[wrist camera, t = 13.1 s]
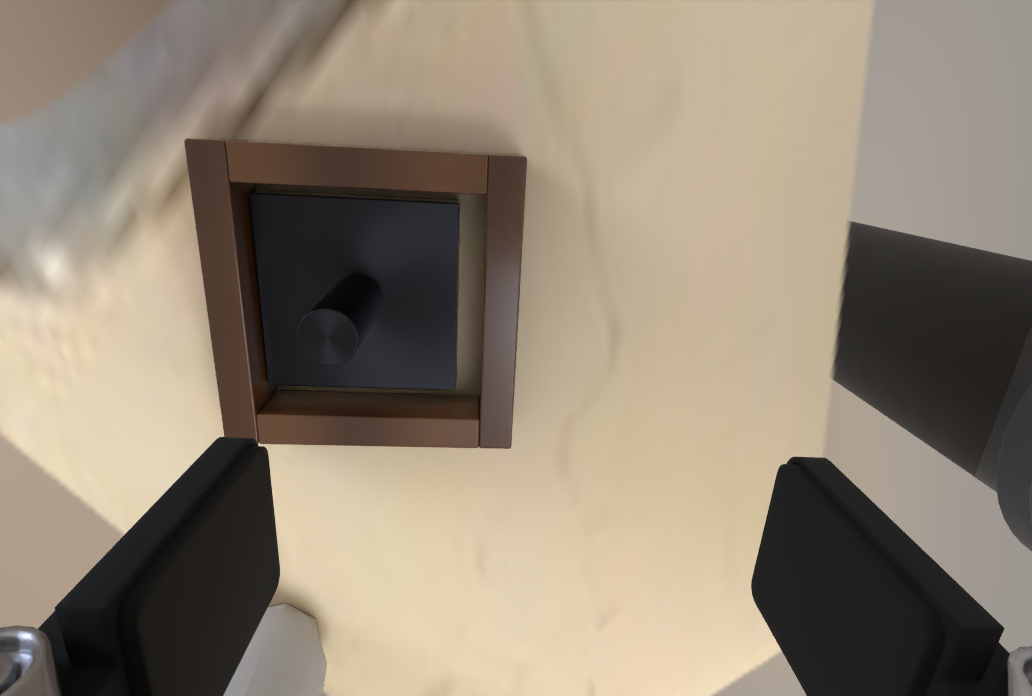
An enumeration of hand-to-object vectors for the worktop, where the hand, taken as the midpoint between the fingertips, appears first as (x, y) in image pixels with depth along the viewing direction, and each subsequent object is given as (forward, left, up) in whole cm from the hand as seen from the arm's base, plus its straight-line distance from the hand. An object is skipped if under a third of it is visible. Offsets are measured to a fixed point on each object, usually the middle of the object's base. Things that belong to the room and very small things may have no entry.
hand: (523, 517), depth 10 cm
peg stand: (+6, 0, -15) cm, 17 cm away
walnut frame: (+5, 0, -15) cm, 16 cm away
